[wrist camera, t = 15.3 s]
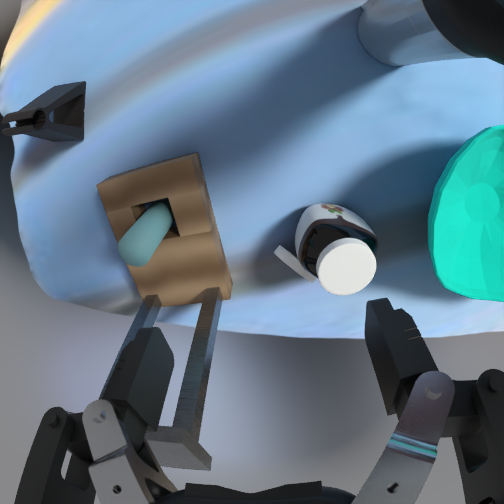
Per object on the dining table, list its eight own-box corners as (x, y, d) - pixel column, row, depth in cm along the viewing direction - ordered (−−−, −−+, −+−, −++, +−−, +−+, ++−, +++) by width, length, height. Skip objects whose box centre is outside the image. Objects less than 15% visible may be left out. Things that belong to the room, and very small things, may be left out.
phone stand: (83, 139, 35) (32, 159, 25) (54, 141, 35) (3, 160, 25) (86, 81, 31) (32, 83, 20) (56, 85, 31) (2, 91, 20)
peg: (148, 200, 40) (112, 238, 30) (173, 194, 40) (143, 231, 29) (156, 225, 42) (125, 268, 31) (181, 220, 41) (155, 264, 31)
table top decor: (359, 246, 43) (388, 301, 31) (415, 72, 29) (473, 70, 18) (502, 285, 46) (533, 323, 34) (550, 172, 32) (592, 197, 21)
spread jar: (367, 211, 40) (399, 251, 30) (340, 275, 45) (358, 326, 35) (289, 189, 39) (299, 224, 29) (267, 259, 44) (269, 310, 34)
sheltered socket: (109, 176, 38) (-43, 298, 12) (198, 152, 36) (66, 283, 11) (155, 298, 49) (94, 452, 23) (233, 288, 47) (210, 470, 21)
